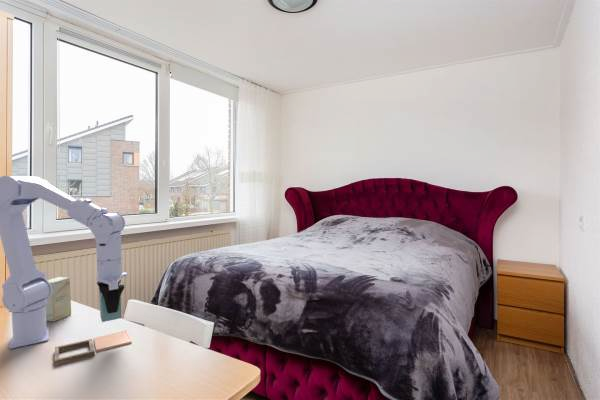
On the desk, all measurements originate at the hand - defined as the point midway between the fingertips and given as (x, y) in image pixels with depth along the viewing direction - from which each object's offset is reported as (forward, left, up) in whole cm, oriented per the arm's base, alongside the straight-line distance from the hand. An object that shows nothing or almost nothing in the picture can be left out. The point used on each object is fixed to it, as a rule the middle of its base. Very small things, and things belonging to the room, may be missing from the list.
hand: (111, 309), depth 91 cm
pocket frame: (+2, -9, -9) cm, 12 cm away
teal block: (0, 0, -2) cm, 2 cm away
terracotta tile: (0, 0, -9) cm, 9 cm away
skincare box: (-28, -12, -9) cm, 32 cm away
